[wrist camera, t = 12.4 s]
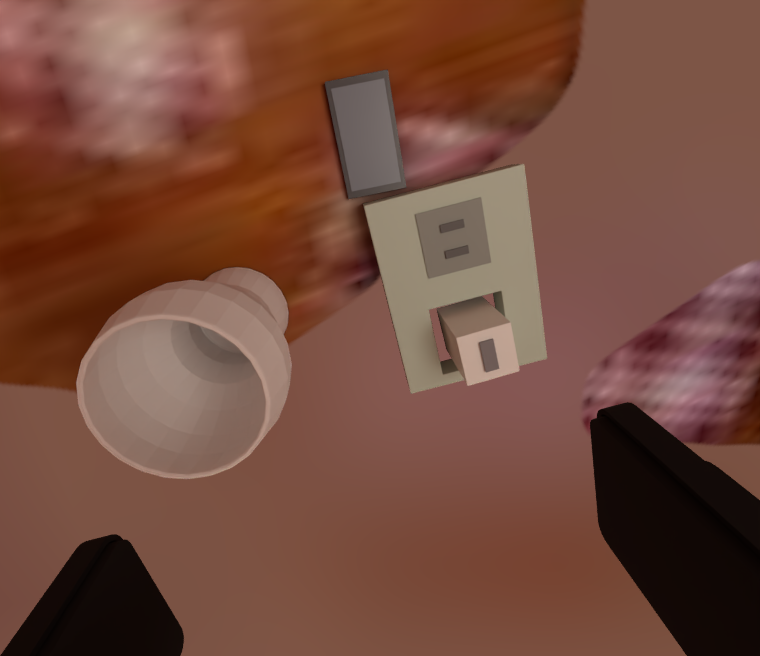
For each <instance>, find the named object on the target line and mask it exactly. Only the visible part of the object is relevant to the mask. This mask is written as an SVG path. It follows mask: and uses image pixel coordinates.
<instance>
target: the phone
mask: <svg viewBox="0 0 760 656" xmlns="http://www.w3.org/2000/svg"><path fill="white" fill-rule="evenodd" d="M325 87H326V91H327V96H328V101H329V106H330V111H331V116H332V121H333V125H334V130H335V135H336V140H337V145H338V150H339V155H340V159H341V164H342V169H343V174H344V179H345V184H346V189H347V193H348V198H349V199H352V198H357V197H362V196H367V195H372V194H377V193H381V192H386V191H391V190H396V189H401V188H406V182H405V176H404V169H403V163H402V157H401V151H400V144H399V138H398V132H397V125H396V119H395V113H394V107H393V100H392V94H391V88H390V82H389V75H388V70H383V71H378V72H373V73H368V74H363V75H358V76H353V77H348V78H343V79H338V80H333V81H328V82H325Z"/></svg>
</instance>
